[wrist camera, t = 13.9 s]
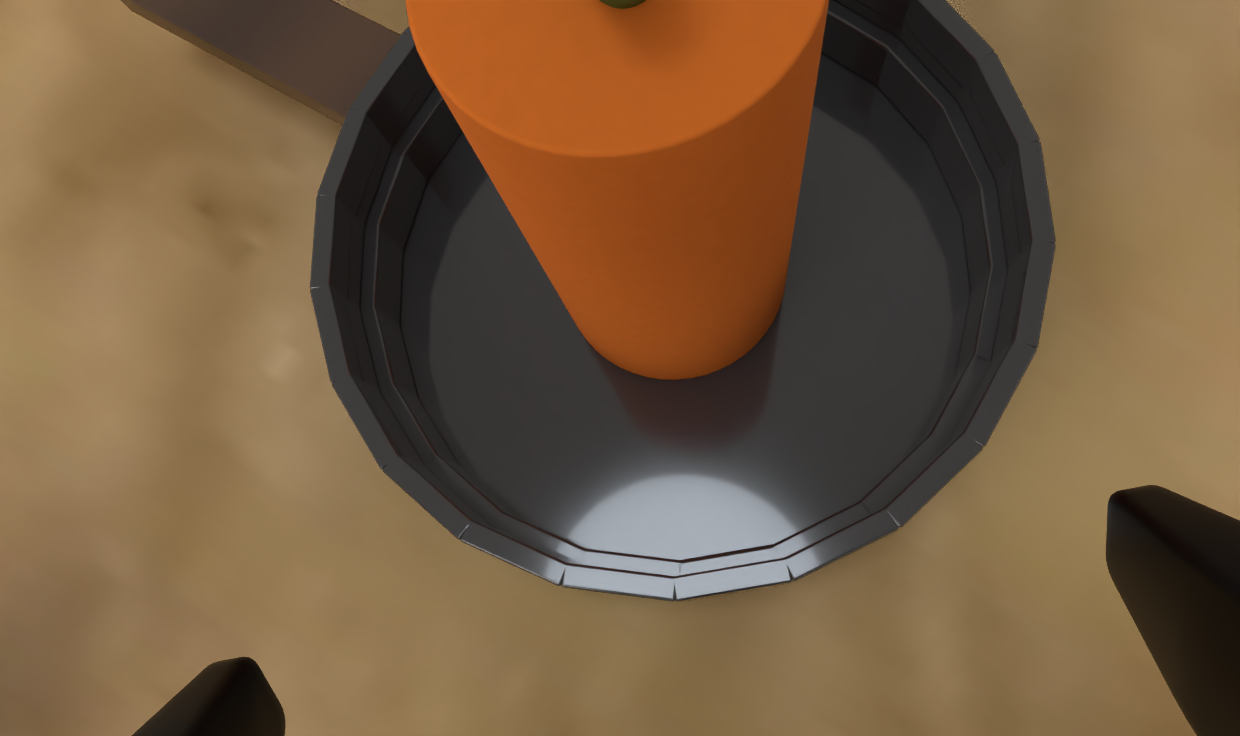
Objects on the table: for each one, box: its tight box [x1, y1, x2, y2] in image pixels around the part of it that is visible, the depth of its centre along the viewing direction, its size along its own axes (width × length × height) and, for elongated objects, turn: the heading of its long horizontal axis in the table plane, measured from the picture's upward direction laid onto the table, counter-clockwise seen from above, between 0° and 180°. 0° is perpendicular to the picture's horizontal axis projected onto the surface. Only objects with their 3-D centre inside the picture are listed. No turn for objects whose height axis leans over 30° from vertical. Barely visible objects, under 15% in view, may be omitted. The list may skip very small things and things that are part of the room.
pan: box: [310, 0, 1056, 601], centre depth 22 cm, size 17×17×4 cm
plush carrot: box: [406, 0, 829, 380], centre depth 16 cm, size 6×6×15 cm
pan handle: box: [121, 0, 400, 125], centre depth 24 cm, size 9×3×1 cm, turn 58°
